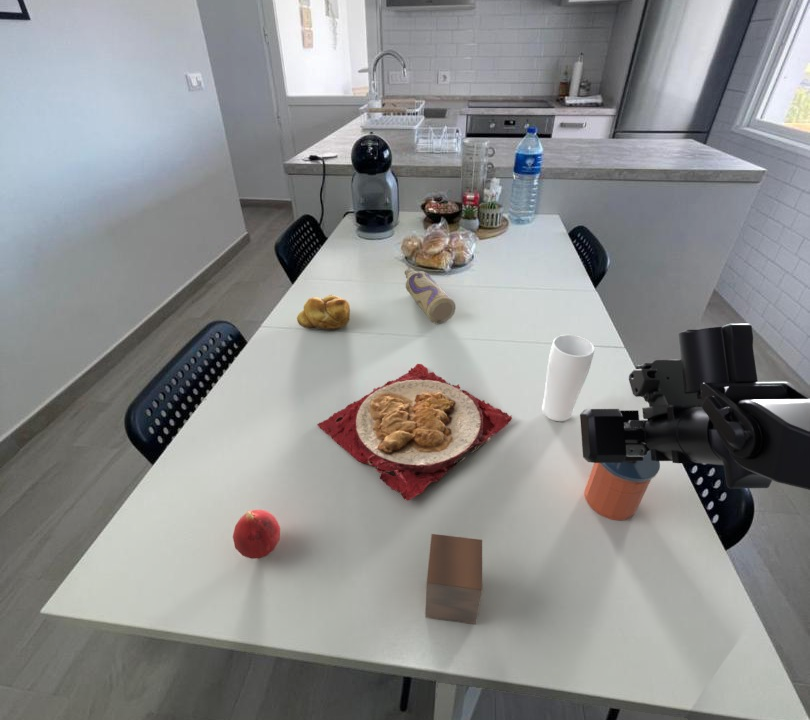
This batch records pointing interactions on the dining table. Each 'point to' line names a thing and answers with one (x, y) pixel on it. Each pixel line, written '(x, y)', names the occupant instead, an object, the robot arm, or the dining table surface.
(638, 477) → the lid
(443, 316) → the decorative bottle
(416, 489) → the plate with food
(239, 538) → the onion
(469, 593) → the block
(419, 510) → the dining table surface
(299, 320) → the bread roll
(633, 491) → the orange cylindrical container
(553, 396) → the drinking glass
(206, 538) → the dining table surface
